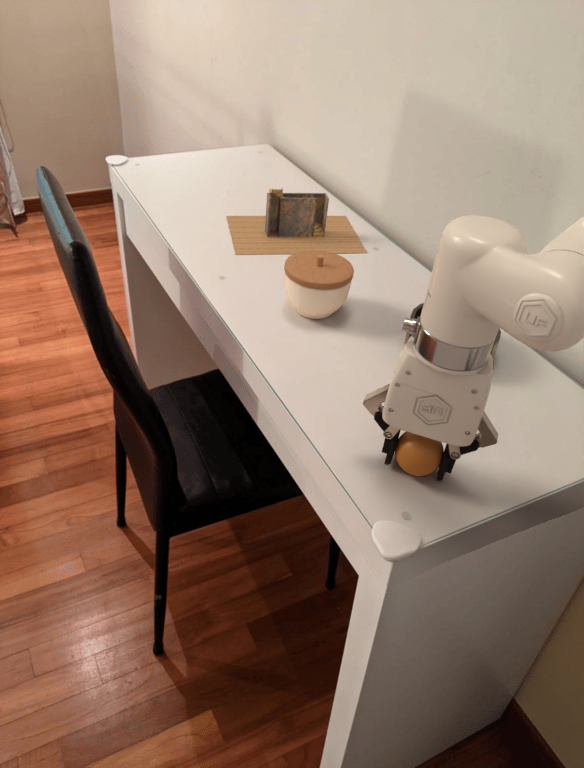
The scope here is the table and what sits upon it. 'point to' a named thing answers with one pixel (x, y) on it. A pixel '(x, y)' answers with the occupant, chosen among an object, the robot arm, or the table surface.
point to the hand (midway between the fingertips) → (415, 463)
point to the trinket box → (317, 282)
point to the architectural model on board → (293, 227)
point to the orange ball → (418, 454)
